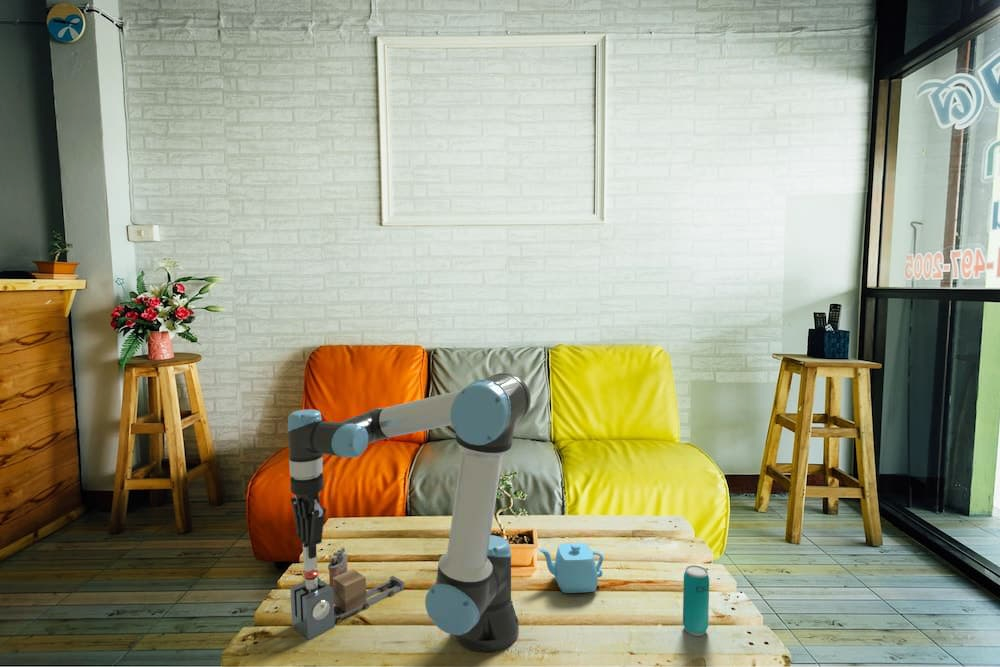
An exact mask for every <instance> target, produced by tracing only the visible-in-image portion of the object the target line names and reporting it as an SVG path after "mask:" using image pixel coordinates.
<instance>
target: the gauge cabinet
mask: <svg viewBox="0 0 1000 667" xmlns="http://www.w3.org/2000/svg"><path fill="white" fill-rule="evenodd" d="M317 581H318V590H317V591H314V592H312V593H310V594H307V595H306V585H305V581H303V582H300V583H298V584H295V585H293V586H291V587H290V590H289V591H290V606H291V607H290V608H291V609H290V610H291V612H290V613H291V627H292V628H294V629H295V630H296V631H297V632H298V633H299V634H300V635H302V636H303V635H304V636H303V637H304V638H305V639H306V640H307V641H309V640H311V639H313V638H315V637H317V636H320V635H321V634H323V633H326V632H328V631H329V630H331V629H333V628H335V624H336V622H335V621H334V606H335V604H334V596H333V588H332V587H331V586H330V584H329V585H328V584H327V583H326V582H325V581H323V580H322V579H321V578H319V577H318V576H317ZM295 625H296V626H297V627H296V626H295ZM295 627H296V628H295ZM302 632H304V634H303V633H302Z"/></svg>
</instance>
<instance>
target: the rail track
mask: <svg viewBox="0 0 1000 667" xmlns="http://www.w3.org/2000/svg"><path fill="white" fill-rule="evenodd" d="M404 583H405V582H404V581H403V580H401V579H399V578H398V577H397V576H395V575H392V576H390V577H389V580H388V581H385V582H383V583H381V584H379V585H377V586H375V587H372V588H371V589H368V590H366V601H367V603H366V604H363V605H361V606H359V607H357V608H355V609H353V610H351V611H349V612H347V613H345V612H344V611H343V610H341V609H340V608H339V607H337V606H336V605H334V621H335V623H340V622H342V621H343V619H344V618H347V617H348V616H351V615H352V614H354V613H357V612H359V611H361V610H363V609H365V610H366V609H368V607H369V608H370V606H371V605H373V604H375V603H378V602H380V601H382V600H383V598H384V599H386V598H387V597H393V596H395V595H396V593H398V592H399V591H403V590H404V589H405V584H404ZM381 599H382V600H381ZM295 626H296V625H295ZM296 627H297V626H296ZM296 627H295V628H296ZM295 628H294V629H295ZM302 633H303V634H304V632H302ZM302 636H303V637H304V635H302Z"/></svg>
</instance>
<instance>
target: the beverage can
mask: <svg viewBox="0 0 1000 667" xmlns="http://www.w3.org/2000/svg"><path fill="white" fill-rule="evenodd" d="M682 593H683V595H682V596H683V598H682V623H683V627H684V630H685V631H686V632H687V634H689V635H691V636H693V637H694V636H695V637H702V636H704V635H706V632H707V629H708V628H709V607H710V606H709V602H710V600H709V599H710V577H709V571H708V570H707V569H706V568H704V567H702V566H699V565H689V566H686V567H685V568H684V573H683V592H682Z"/></svg>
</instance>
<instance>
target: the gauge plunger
mask: <svg viewBox="0 0 1000 667" xmlns="http://www.w3.org/2000/svg"><path fill="white" fill-rule="evenodd" d="M318 576H319V571H318V570H317V569H313V570H311V571H308V572H306V571H304V576H303V578H304V580H305V581H304V582H305V585H306V595H307V594H310V593H312V592H314V591H317V590H318V581H317V577H318Z"/></svg>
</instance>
